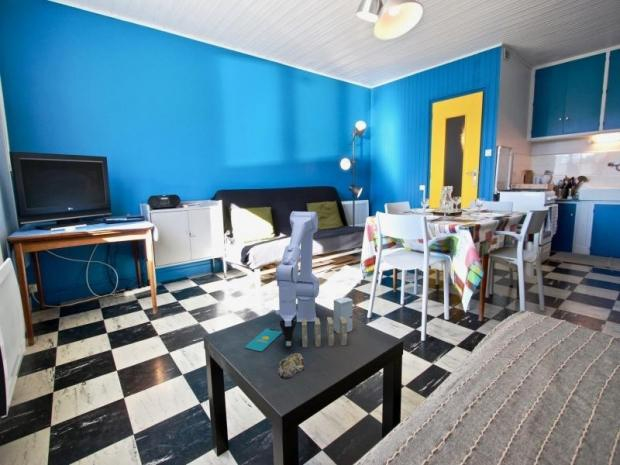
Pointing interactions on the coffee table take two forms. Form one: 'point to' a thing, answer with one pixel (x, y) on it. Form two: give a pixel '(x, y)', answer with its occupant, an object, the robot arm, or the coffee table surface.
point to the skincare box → (343, 313)
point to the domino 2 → (304, 332)
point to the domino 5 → (343, 331)
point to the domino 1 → (288, 343)
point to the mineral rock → (291, 365)
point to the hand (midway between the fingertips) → (288, 336)
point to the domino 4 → (330, 331)
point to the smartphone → (263, 340)
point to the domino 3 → (317, 332)
